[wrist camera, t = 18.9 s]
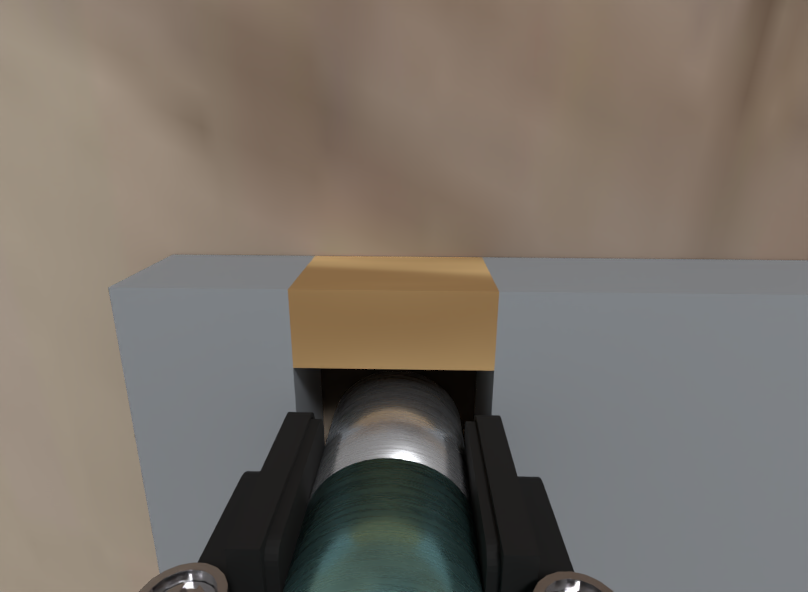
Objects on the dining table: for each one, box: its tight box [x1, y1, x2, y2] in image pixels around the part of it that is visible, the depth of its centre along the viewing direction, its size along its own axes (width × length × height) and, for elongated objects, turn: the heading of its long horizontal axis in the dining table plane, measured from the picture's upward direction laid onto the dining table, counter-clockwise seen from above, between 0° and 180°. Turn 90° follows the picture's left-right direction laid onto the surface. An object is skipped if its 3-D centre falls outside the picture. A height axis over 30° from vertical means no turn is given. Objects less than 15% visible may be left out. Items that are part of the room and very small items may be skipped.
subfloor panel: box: [108, 255, 808, 592], centre depth 15 cm, size 16×22×3 cm
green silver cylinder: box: [282, 370, 484, 592], centre depth 9 cm, size 3×3×8 cm
